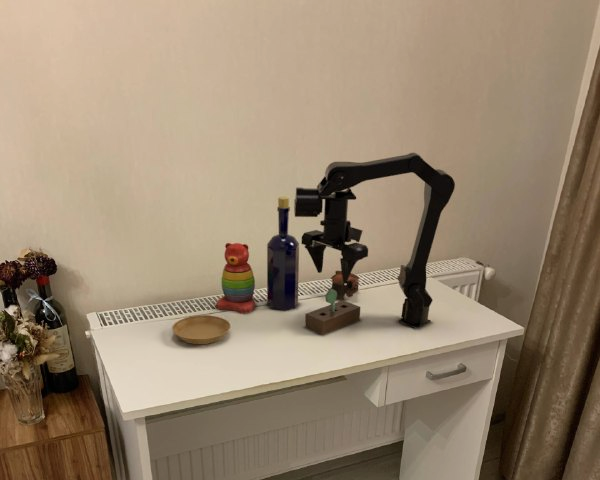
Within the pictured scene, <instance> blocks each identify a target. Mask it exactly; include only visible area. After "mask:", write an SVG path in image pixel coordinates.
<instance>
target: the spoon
mask: <svg viewBox="0 0 600 480" xmlns="http://www.w3.org/2000/svg"><path fill="white" fill-rule="evenodd" d="M330 289H331V288H330ZM337 299H338V298H337V292H336V291H335V290H333V289H331V290H329V291H328V290H327V292H326V293H325V301H326V303H329V304H330V305H331V311H332V312H335V303H336V300H337Z"/></svg>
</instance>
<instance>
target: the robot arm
mask: <svg viewBox="0 0 600 480" xmlns="http://www.w3.org/2000/svg"><path fill="white" fill-rule="evenodd" d="M411 173H412V174H415V176H417V177H418V178H419V179H420V180H422V181H423V182H424V186H423V187H424V188H423V203H424V204H423V211H422V214H421V217H420V221H419V225H418V230H417V232H416V237H415V240H414V244H413V247H412V252H411V255H410V259H409V261H408V262H407V264H406V265H403V264H401V265H400V269H399V274H398V276H397V278H396V279H397V282H398V285H399V286H398V287H399V288H400V289H401V291H402V293H403V295H404V297H405V298H404V300H403V302H402V308H401V318H399V319H398V322H399V323H402V324H404V325H407V326H409V327H413V328H415V329H419V328H421V327H424V326H426V325H428V324H430V323H432V322H431V321H432V320H431V319H429V313H430V306H432V305H431V304H432V303H433V298H432V296H431V295H430V294H429V292H428V291H427V289H426V287H427V265H428V260H429V257H430V254H431V250H432V246H433V243H434V239H435V236H436V233H437V229H438V225H439V221H440V218H441V214H442V212H443V211H444V209H445V208H446V206H447V205H448V204H449V202H450V200H451V198H452V195H453V193H454V192H455V189H456V188H455V187H456V182H455V179H454V178H453V177H452V176H451V175H450V174H449V173H447V172H446V171H444V170H443V169H436V168H434V167H432V165H430V164H429V163H428V162H426V161H425V160H424V158H423V157H422V156H421V155H419V154H418V153H416V152H410V153H407V154H403V155H396V156H392V157H386V158H381V159H375V160H369V161H364V162H355V161H333V162H330V163H329V164H328V166H327V167H326V168H325V171H324V177H322V179H321V180H320V182H319V183H318V184H317V185H316V188H310V187H309V188H307V187H306V188H304V187H296V188H295V196H294V200H293V201H294V202H293V205H294V206H293V208H294V209H293V210H294V213H293V214H294V218H318V216H320V215H321V214H322V213H323V219H322V220H320V221H319V223H320V224H319V225H320V226H322V227H323V228H322V229H323V231H321V230H318V229H314V230H310V231H305V232H303V234H302V236H301V245H304V248H305V249H306V251H307V252H308V255H309V256H310V258H311V260H312V262H313V264H314V267H315V270H316V271H317V273H318V274H321V273H322V272H323V267H324V266H323V265H324V253H325V251H326V249H327V248H331V249H333V250H337V251H340V255H341V257H339V260H340V269H341V270H340V271H342V279H343V282H347V280H348V278H349V276H350V274H351V273H352V271H353V269H354V268H355V265H356V264H357V263H358V261H361V260H363V259H365V258H368V257H369V247H368V246H367V245H365V244H362V243H360V241H361V238H362V235H363V231H364V230H363V229H359V228H357V227H352V226H351V225H352V222H351V220H348V209H349V201H350V200H351V201H355V200H357V196H356V194H355V193H354V192H353V191H352V188H354V187H356V186H358V185H359V184H361V183H364V182H366V181H367V182H368V181H371V180H377V179H382V178H388V177H394V176H399V175H404V174H411ZM323 202H324V203H323ZM323 205H324V209H323ZM323 210H324V211H323ZM352 241H355V242H352ZM351 242H352V243H351ZM347 243H348V244H347Z"/></svg>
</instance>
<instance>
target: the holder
mask: <svg viewBox="0 0 600 480" xmlns="http://www.w3.org/2000/svg"><path fill="white" fill-rule="evenodd" d="M304 317H305V318H304V328H305V329H308V330H309V331H312V332H314V333H316V334H319V335H321V336H324V335H326V334H329V333H332V332H334V331H337V330H339V329H341V328H345V327H346V326H350V325H351V324H354V323H357V322H359V321H360V320H361V319H360V318H361V306H360V305H357V304H354V303H351V302H349V301H346V300H344V299H343V300H342V299H341V300H340V301H337V302H335V312H332V311H331V304H328V305H326V306H323V307H320V308H318V309H315V310H312V311H308V312H306V313H305V315H304Z"/></svg>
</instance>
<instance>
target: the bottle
mask: <svg viewBox="0 0 600 480" xmlns="http://www.w3.org/2000/svg"><path fill="white" fill-rule="evenodd" d="M277 201H278V202H277V203H278V204H277V205H278V206H276V207H277V211H276V212H278V213H277V214H278V215H277V216H278V217H277V218H278V233H277V234H274V235H272V237H271V238H270V240H269V241H268V242H267V244H266V248H267V249H266V268H267V269H266V281H267V282H266V283H267V284H266V290H267V291H266V294H267V295H266V296H267V297H266V306H267V307H269V308H270V309H272V310H275V311H291V310H294V309H296V308H297V307H298V306H299V276H300V275H299V271H300V269H299V267H300V242H299V241H298V239H296V237H295V236H293V235H292V234H289V219H290V211H291V207H290V197H288V196H278V199H277Z"/></svg>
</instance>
